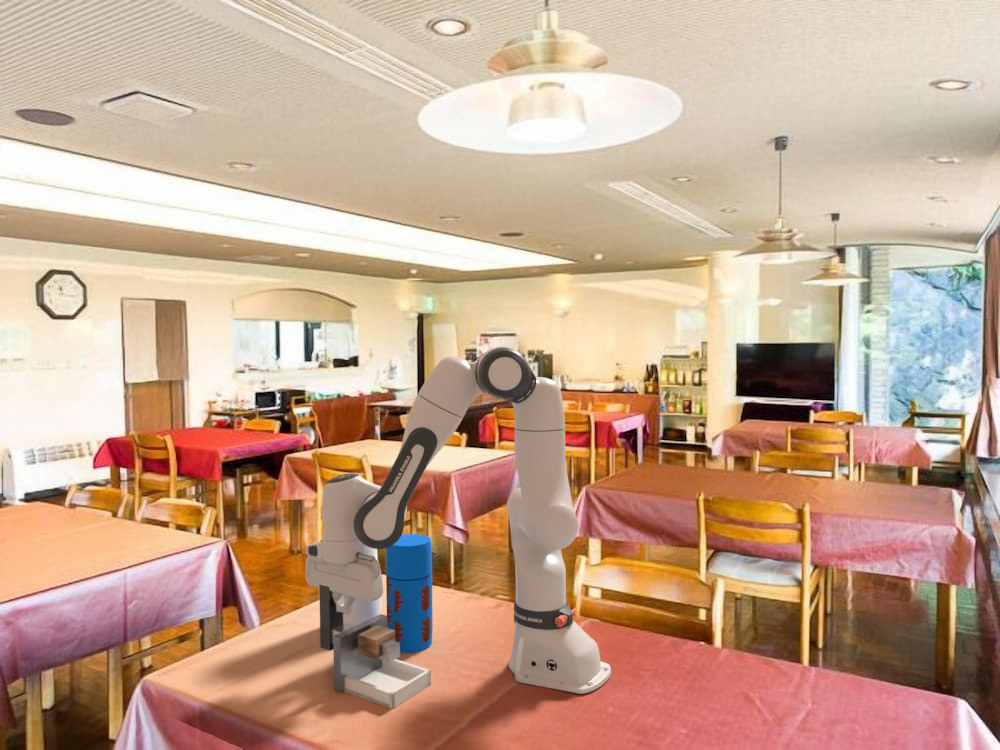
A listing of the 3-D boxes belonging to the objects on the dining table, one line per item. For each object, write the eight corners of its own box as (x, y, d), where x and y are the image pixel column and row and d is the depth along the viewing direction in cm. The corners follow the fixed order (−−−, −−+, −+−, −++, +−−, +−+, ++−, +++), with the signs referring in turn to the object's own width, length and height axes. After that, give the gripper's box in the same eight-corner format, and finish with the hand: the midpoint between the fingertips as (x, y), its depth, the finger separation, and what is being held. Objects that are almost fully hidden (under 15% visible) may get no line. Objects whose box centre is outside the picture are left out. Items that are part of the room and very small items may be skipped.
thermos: (427, 631, 175) (426, 532, 174) (437, 649, 165) (436, 543, 163) (383, 637, 171) (382, 536, 170) (390, 656, 161) (389, 548, 160)
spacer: (395, 649, 149) (395, 630, 149) (376, 659, 144) (375, 640, 144) (377, 643, 151) (377, 625, 151) (358, 653, 147) (358, 634, 146)
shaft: (401, 662, 147) (400, 596, 146) (388, 670, 143) (387, 602, 143) (334, 641, 158) (333, 579, 157) (320, 647, 154) (319, 584, 154)
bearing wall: (388, 667, 156) (387, 615, 155) (341, 693, 144) (340, 638, 144) (381, 664, 157) (380, 614, 156) (334, 690, 145) (333, 636, 145)
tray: (430, 684, 148) (430, 670, 148) (392, 709, 138) (391, 694, 138) (384, 668, 155) (384, 655, 155) (344, 691, 145) (344, 677, 145)
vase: (364, 613, 187) (362, 508, 186) (391, 627, 177) (390, 517, 176) (319, 626, 178) (317, 517, 177) (346, 642, 169) (344, 526, 167)
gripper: (389, 553, 149) (389, 618, 149) (321, 539, 160) (322, 599, 161) (368, 561, 144) (369, 628, 144) (300, 545, 155) (300, 607, 155)
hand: (344, 612), depth 152 cm, fingers closed
